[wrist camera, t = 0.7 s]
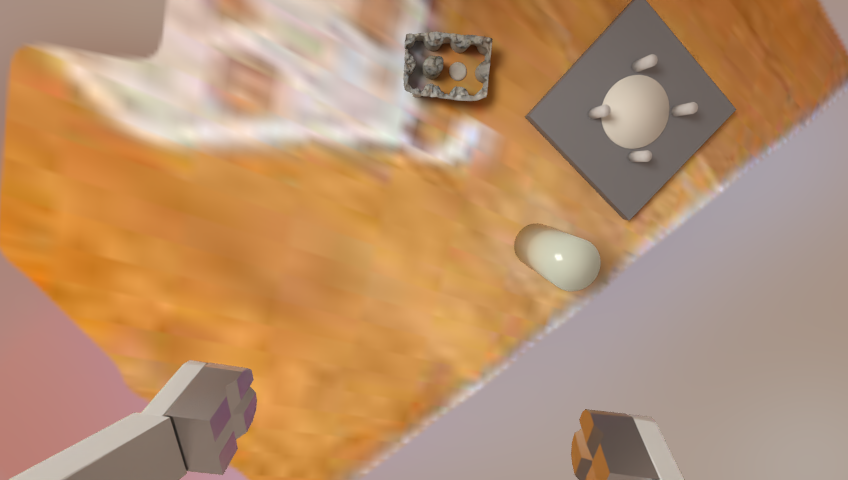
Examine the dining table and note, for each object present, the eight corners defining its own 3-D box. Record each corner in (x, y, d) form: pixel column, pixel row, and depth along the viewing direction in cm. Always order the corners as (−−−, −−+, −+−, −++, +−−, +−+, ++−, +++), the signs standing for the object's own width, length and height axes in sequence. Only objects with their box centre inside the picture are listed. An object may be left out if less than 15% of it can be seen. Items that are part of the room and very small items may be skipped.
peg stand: (524, 117, 54) (537, 112, 49) (633, -1, 52) (656, -17, 48) (623, 218, 57) (643, 223, 53) (727, 111, 56) (756, 106, 51)
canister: (512, 226, 56) (545, 242, 44) (554, 220, 56) (599, 234, 45) (516, 268, 57) (549, 295, 45) (557, 262, 57) (601, 287, 46)
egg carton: (488, 46, 52) (497, 36, 48) (481, 107, 53) (489, 102, 49) (405, 34, 51) (407, 22, 47) (399, 97, 52) (400, 91, 48)
